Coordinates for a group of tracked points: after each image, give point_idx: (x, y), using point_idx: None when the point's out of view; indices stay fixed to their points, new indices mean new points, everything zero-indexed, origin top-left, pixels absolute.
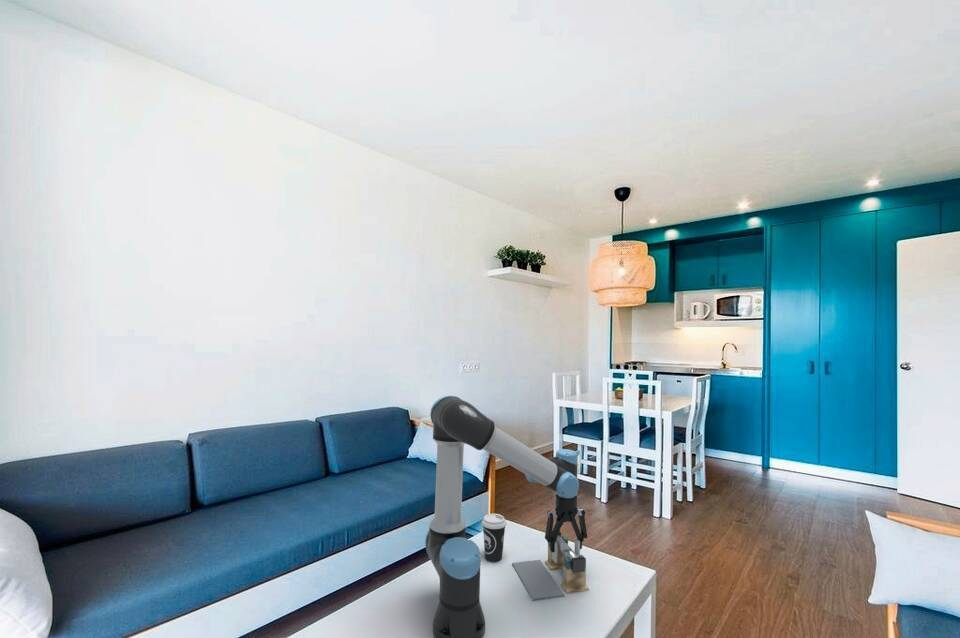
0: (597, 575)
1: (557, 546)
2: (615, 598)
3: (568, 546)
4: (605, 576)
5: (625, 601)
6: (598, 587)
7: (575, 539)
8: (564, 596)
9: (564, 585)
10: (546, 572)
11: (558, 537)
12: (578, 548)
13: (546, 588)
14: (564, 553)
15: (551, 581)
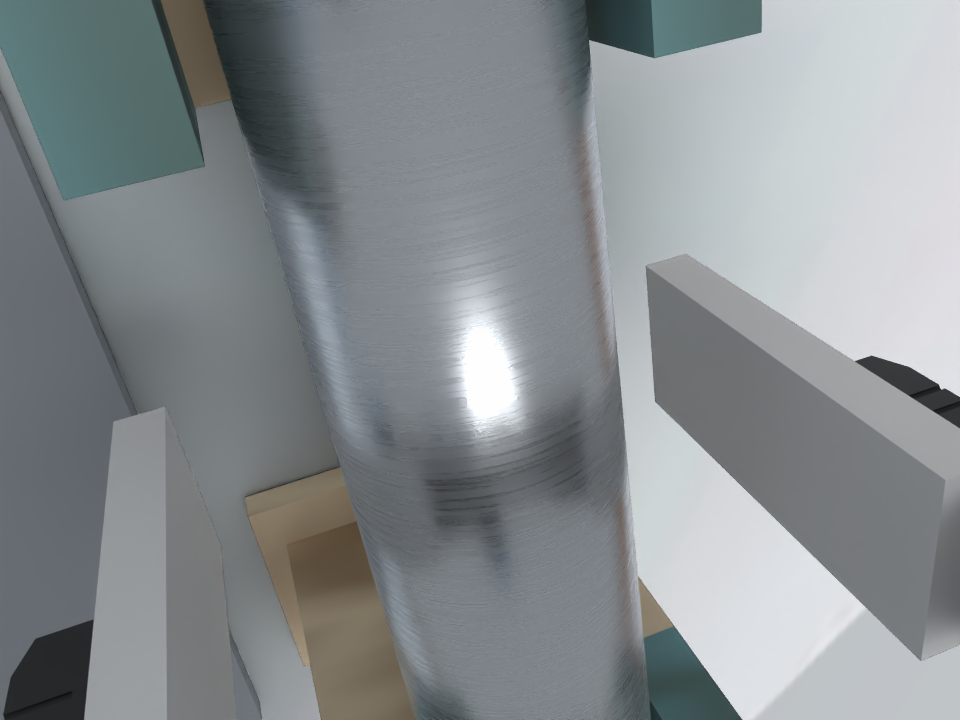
0: (803, 233)
1: (300, 327)
2: (770, 612)
3: (596, 614)
4: (881, 249)
5: (828, 632)
6: (698, 476)
7: (924, 516)
8: (258, 703)
9: (292, 576)
10: (14, 265)
11: (433, 67)
12: (805, 530)
13: (12, 665)
14: (416, 704)
15: (101, 503)
